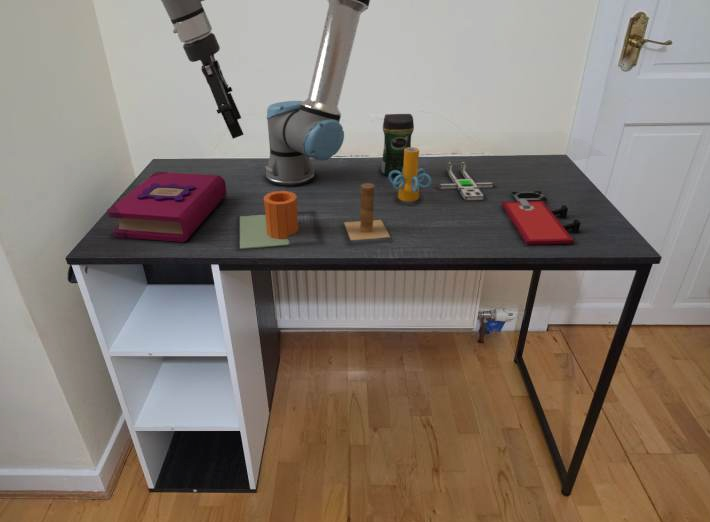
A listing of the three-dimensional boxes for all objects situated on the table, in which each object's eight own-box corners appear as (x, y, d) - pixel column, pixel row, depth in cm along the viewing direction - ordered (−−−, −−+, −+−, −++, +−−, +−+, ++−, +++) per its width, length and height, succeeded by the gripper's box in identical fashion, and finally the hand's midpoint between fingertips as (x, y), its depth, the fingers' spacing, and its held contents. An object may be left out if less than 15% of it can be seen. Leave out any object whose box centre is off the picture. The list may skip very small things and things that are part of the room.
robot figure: (430, 173, 168) (446, 200, 149) (431, 163, 166) (447, 190, 148) (480, 171, 168) (502, 199, 150) (482, 161, 167) (504, 188, 148)
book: (227, 198, 152) (224, 173, 148) (189, 243, 129) (183, 215, 125) (160, 193, 156) (155, 169, 151) (111, 237, 132) (103, 209, 128)
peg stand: (343, 226, 136) (343, 179, 129) (381, 223, 138) (383, 176, 131) (350, 244, 128) (350, 195, 121) (390, 241, 129) (392, 192, 122)
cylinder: (432, 196, 152) (437, 145, 144) (425, 210, 144) (430, 158, 136) (391, 191, 156) (394, 141, 147) (382, 205, 147) (385, 153, 139)
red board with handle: (546, 194, 152) (494, 195, 152) (548, 185, 150) (496, 186, 151) (587, 244, 127) (526, 246, 127) (590, 234, 126) (528, 236, 126)
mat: (239, 217, 141) (239, 216, 141) (312, 212, 144) (312, 210, 144) (240, 249, 127) (239, 248, 126) (321, 242, 129) (321, 241, 129)
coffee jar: (409, 168, 172) (413, 110, 161) (412, 176, 165) (417, 117, 155) (379, 168, 171) (381, 111, 161) (382, 177, 165) (384, 118, 155)
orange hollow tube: (266, 226, 136) (263, 192, 131) (296, 223, 137) (294, 189, 132) (267, 240, 130) (264, 205, 124) (299, 237, 131) (297, 202, 125)
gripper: (184, 35, 125) (222, 118, 137) (178, 54, 105) (223, 150, 117) (213, 23, 125) (248, 108, 137) (212, 40, 105) (254, 138, 117)
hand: (237, 127), depth 127 cm, fingers open, 13 cm apart
